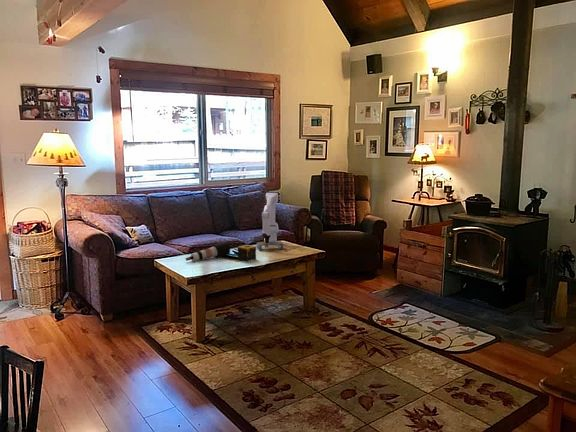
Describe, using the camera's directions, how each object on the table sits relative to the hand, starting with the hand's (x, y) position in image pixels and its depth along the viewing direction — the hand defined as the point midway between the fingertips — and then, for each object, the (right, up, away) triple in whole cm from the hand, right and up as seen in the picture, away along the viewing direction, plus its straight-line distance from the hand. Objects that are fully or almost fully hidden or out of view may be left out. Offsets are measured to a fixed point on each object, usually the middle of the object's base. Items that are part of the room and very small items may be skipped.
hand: (266, 242), depth 389 cm
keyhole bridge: (+3, -5, +2) cm, 6 cm away
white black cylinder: (-43, -11, -31) cm, 54 cm away
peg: (0, -4, +1) cm, 4 cm away
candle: (-13, -11, -34) cm, 38 cm away
